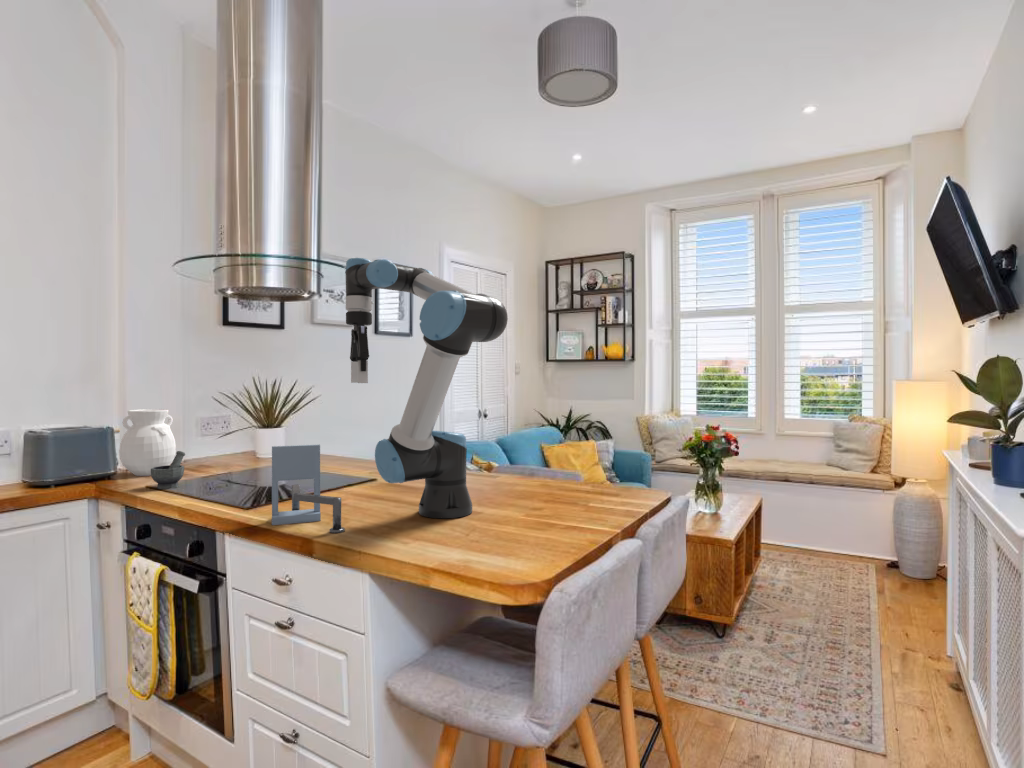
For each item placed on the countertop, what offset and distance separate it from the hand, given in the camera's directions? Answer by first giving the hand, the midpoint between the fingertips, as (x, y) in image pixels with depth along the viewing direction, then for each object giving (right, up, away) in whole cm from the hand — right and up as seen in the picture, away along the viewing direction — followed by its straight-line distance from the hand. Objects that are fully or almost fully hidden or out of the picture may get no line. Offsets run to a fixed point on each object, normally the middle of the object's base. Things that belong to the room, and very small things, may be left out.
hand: (359, 383), depth 168 cm
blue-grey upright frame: (-12, -37, -17) cm, 42 cm away
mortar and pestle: (-73, -36, +26) cm, 85 cm away
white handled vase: (-96, -36, +51) cm, 115 cm away
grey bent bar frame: (-6, -37, -20) cm, 42 cm away
